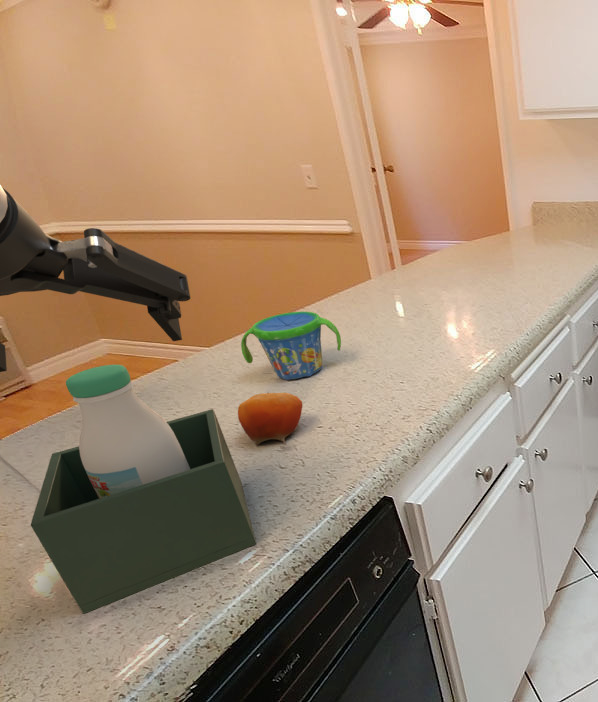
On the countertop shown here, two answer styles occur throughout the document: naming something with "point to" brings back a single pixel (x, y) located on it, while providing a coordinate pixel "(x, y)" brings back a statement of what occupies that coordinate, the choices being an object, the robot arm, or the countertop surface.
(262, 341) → the snack cup
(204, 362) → the countertop surface
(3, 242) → the robot arm
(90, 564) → the bin
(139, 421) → the milk bottle
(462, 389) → the countertop surface
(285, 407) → the fruit
